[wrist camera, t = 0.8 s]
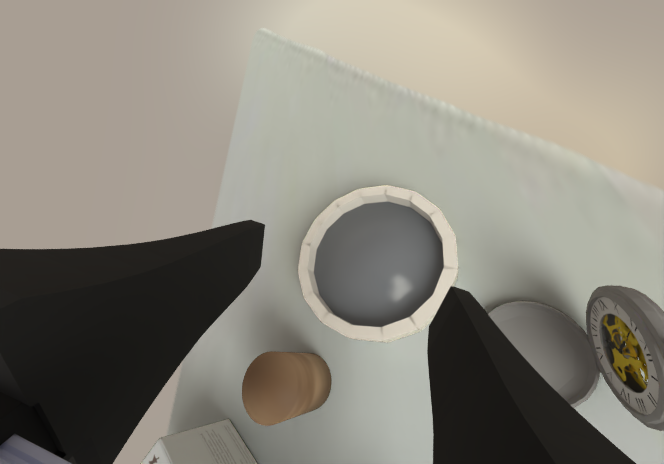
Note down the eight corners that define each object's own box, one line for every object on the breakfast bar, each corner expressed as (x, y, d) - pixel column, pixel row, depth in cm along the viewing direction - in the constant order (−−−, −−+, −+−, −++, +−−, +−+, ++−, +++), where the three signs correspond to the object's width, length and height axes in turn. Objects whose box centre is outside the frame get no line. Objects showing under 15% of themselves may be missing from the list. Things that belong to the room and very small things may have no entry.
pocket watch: (455, 337, 21) (457, 322, 12) (547, 270, 20) (615, 207, 12) (555, 458, 16) (664, 563, 8) (676, 377, 16) (929, 397, 7)
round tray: (419, 376, 21) (416, 377, 19) (285, 298, 28) (274, 294, 26) (480, 217, 24) (482, 206, 22) (345, 184, 31) (338, 173, 29)
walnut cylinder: (316, 423, 22) (275, 441, 17) (277, 391, 24) (231, 399, 19) (340, 370, 23) (308, 372, 18) (300, 343, 25) (262, 340, 20)
